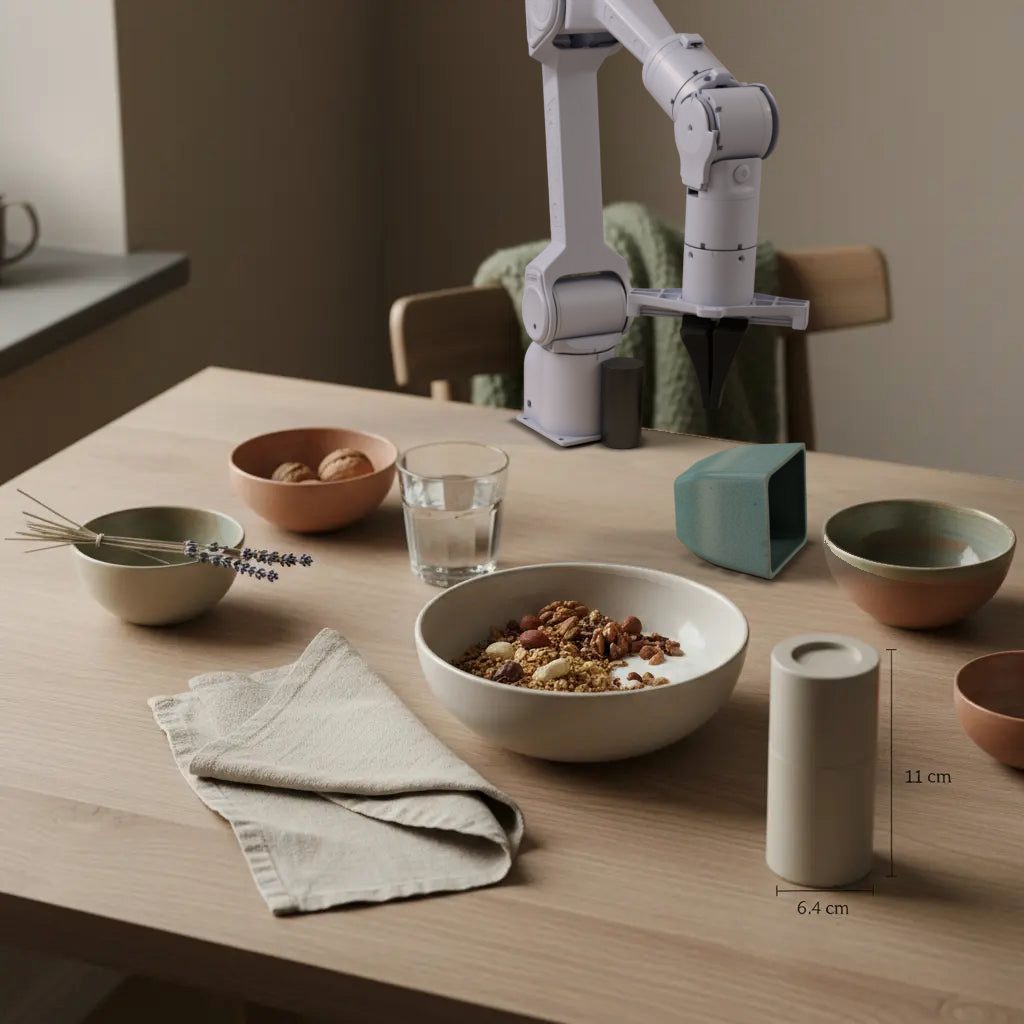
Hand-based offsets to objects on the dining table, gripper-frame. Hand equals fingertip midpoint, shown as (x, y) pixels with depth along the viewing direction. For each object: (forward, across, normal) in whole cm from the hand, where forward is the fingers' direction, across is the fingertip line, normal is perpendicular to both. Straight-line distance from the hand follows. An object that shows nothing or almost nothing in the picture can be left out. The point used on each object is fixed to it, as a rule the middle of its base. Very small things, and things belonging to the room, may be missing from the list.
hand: (711, 405), depth 125 cm
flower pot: (+7, -1, -4) cm, 8 cm away
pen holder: (+10, -11, +17) cm, 23 cm away
